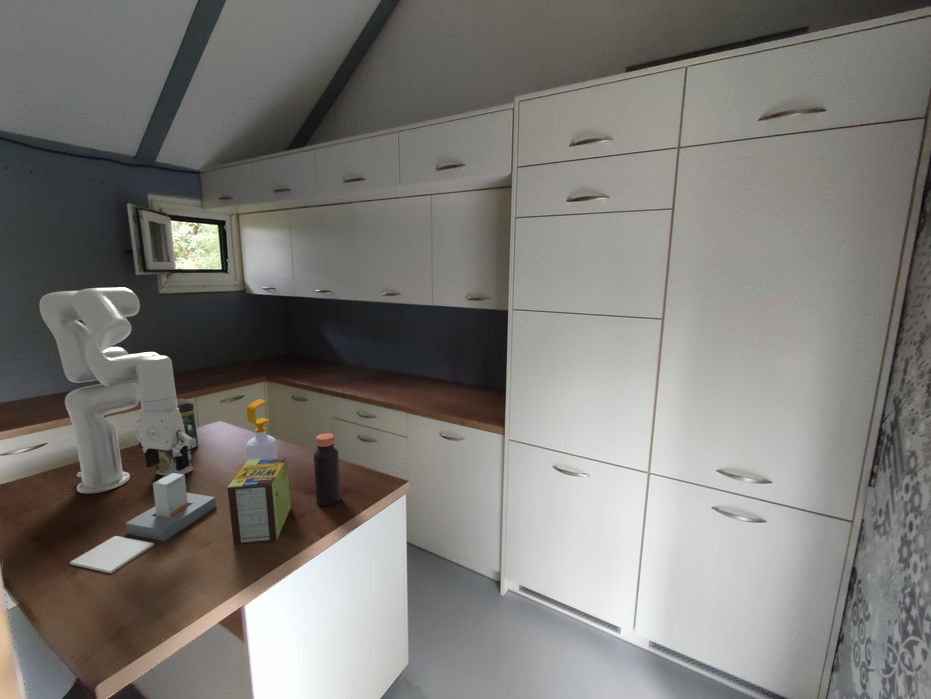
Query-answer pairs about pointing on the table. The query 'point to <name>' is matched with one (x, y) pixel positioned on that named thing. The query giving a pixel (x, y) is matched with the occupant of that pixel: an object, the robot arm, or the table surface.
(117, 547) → the white flat plate
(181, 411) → the coffee jar
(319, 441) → the vinegar
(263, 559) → the table surface
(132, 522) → the slotted board
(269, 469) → the protein box
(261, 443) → the soap bottle
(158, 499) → the skincare box
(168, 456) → the coffee box
